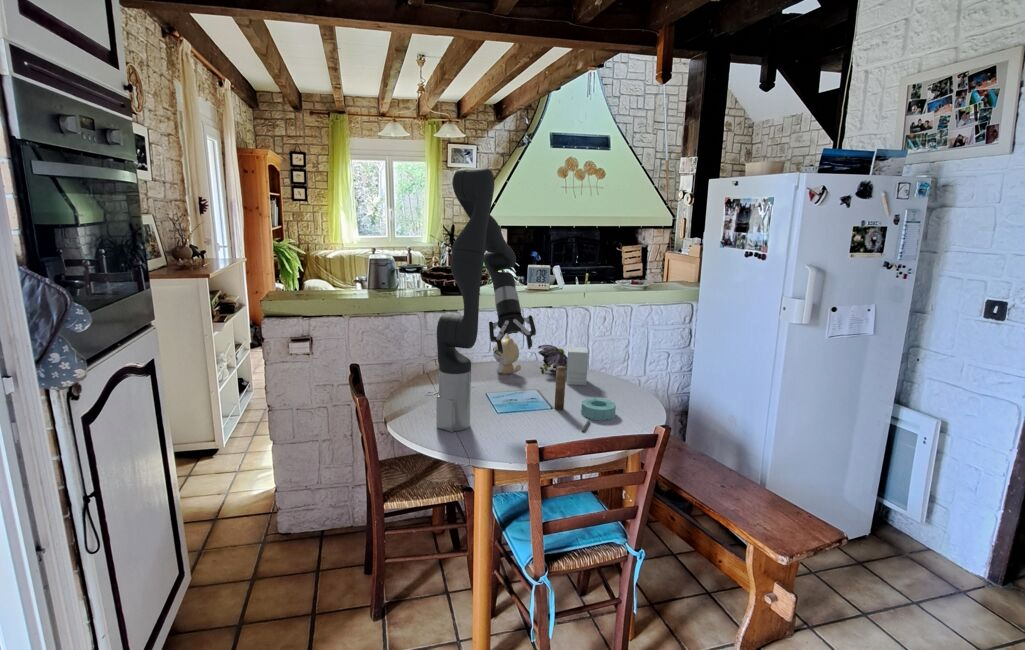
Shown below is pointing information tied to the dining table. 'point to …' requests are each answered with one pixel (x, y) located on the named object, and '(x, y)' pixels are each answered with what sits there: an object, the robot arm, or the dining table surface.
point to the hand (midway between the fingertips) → (515, 350)
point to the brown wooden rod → (560, 387)
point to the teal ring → (598, 408)
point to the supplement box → (577, 366)
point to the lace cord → (585, 426)
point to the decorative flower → (552, 357)
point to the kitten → (507, 356)
